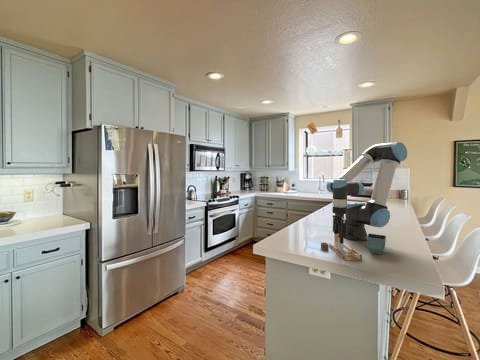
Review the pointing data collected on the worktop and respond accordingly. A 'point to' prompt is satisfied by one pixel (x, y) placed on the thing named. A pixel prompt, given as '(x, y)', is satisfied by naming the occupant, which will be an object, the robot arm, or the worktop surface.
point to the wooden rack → (349, 255)
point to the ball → (336, 237)
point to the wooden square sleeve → (324, 246)
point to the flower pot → (376, 243)
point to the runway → (345, 250)
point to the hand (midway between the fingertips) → (338, 246)
